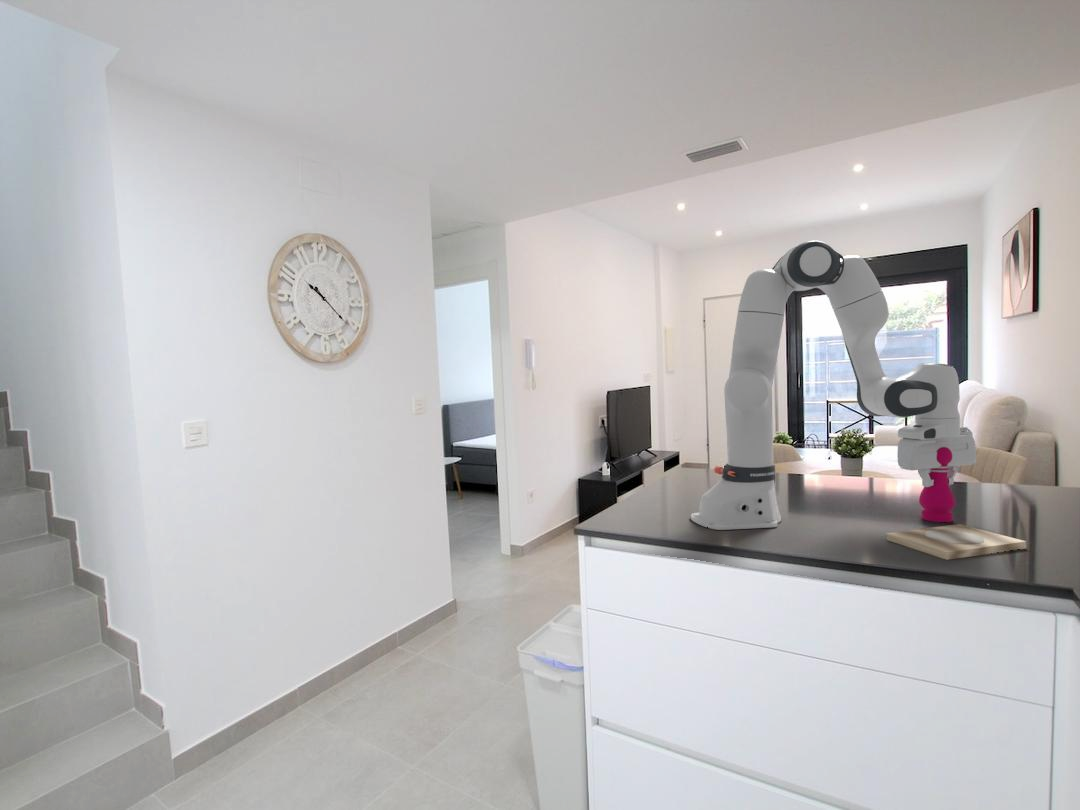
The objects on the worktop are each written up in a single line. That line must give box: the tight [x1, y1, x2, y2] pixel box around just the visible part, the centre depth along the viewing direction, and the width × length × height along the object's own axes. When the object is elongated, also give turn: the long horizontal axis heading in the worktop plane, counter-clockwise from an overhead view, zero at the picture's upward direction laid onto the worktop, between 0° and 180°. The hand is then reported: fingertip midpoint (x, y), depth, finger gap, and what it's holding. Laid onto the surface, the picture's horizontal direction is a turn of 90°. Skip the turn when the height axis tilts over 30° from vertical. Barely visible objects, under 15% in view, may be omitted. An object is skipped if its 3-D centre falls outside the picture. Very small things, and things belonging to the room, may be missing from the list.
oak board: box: [886, 523, 1027, 561], centre depth 116 cm, size 20×14×2 cm
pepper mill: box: [918, 447, 956, 524], centre depth 134 cm, size 7×7×20 cm
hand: (938, 485), depth 134 cm, fingers open, 5 cm apart
